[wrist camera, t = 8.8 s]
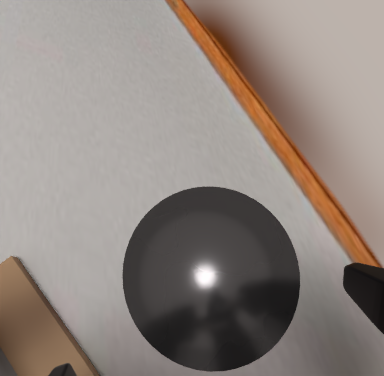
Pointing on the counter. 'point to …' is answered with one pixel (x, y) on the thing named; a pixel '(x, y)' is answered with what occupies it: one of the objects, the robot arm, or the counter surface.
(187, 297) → the metal canister
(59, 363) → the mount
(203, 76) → the counter surface
